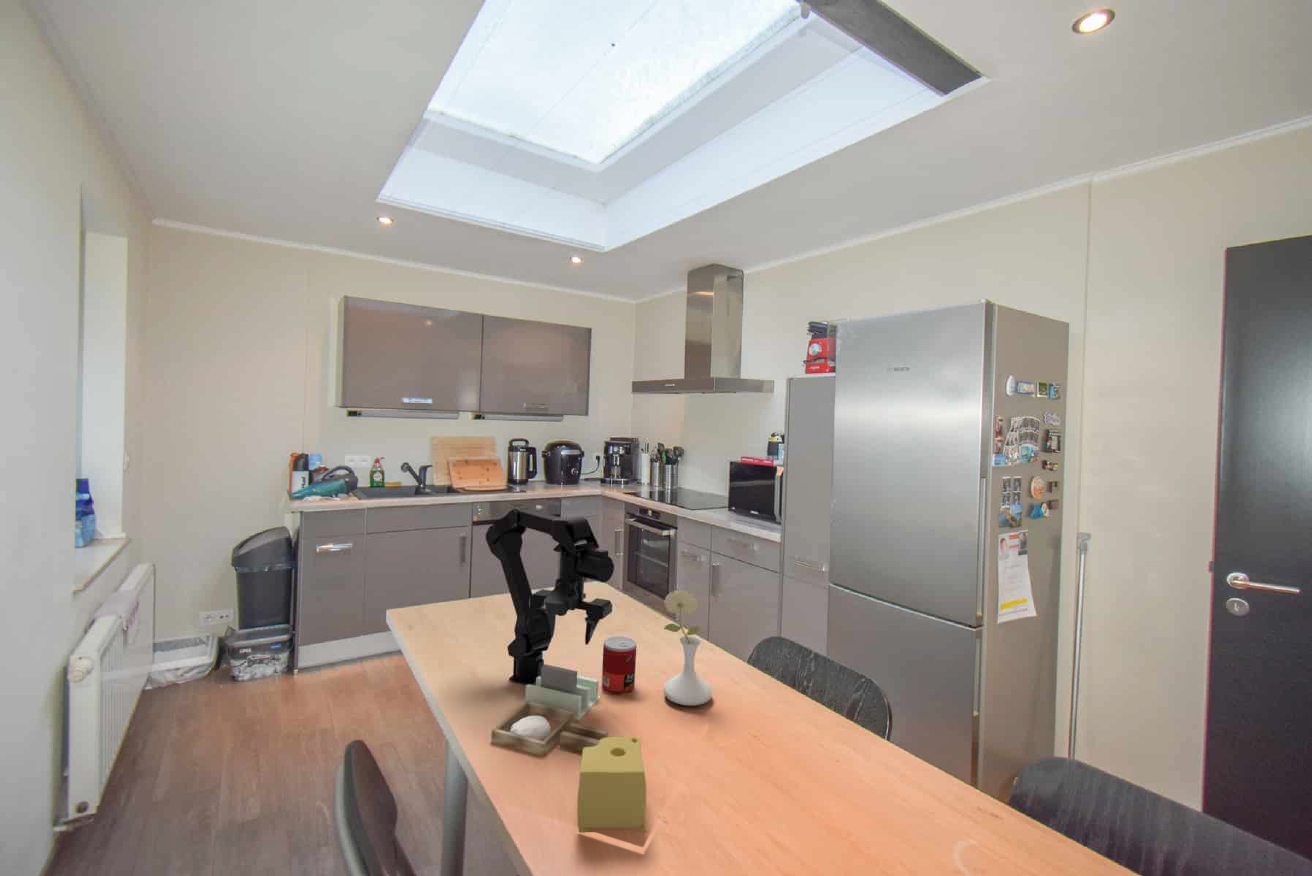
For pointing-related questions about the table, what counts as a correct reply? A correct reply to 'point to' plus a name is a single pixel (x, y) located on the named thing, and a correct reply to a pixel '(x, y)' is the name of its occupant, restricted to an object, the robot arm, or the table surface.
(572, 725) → the plate stand
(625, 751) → the cheese
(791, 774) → the table surface
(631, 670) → the canned food
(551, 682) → the plate
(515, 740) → the garlic trivet frame
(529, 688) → the dish rack
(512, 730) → the garlic
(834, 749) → the table surface
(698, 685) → the flower in vase
